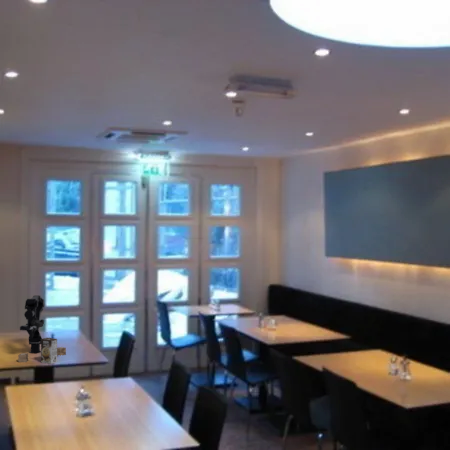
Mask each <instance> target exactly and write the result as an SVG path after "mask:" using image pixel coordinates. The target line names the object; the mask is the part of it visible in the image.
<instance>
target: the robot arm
mask: <svg viewBox="0 0 450 450" xmlns="http://www.w3.org/2000/svg"><path fill="white" fill-rule="evenodd" d="M24 303H25V304H24V310H26V311H25V312H24V313H23V315H24V318H25V320H26V321H27V323H26V324H25V325H20V326H19V330H20V331H26V332H27V334H28V345H29V346H30V351H29V352H28V354H29V353H30V354H39V353H41V339H43V338H42V335H41V333H40V328H42V327H44V325H45V320H44V319H41V315H42V312H43V311H44V309H45V300H44V299H43V298H42V297H41V295H33V296H32V297H31V298H26V300H25V302H24Z"/></svg>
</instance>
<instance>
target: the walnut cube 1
mask: <svg viewBox="0 0 450 450" xmlns="http://www.w3.org/2000/svg"><path fill="white" fill-rule="evenodd" d="M28 361H29V352H28V353H23V352H22V353H20V354H18V359H17V362H18V363H27V362H28Z"/></svg>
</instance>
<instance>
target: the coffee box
mask: <svg viewBox="0 0 450 450" xmlns="http://www.w3.org/2000/svg"><path fill="white" fill-rule="evenodd" d="M57 348H58V339H57V338H54V337H53V338H52V337H43V338H42V339H41V344H40V351H41V352H40V362H41V363H42V364H43V363H44V364H50V365H51V364H55V363H57V362H58V355H57Z"/></svg>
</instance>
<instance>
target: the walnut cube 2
mask: <svg viewBox="0 0 450 450" xmlns="http://www.w3.org/2000/svg"><path fill="white" fill-rule="evenodd" d="M66 349H67V347H63V346H59V347H57V356H58V355H60V357H61V355H62V356H66V355H67V350H66Z"/></svg>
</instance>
